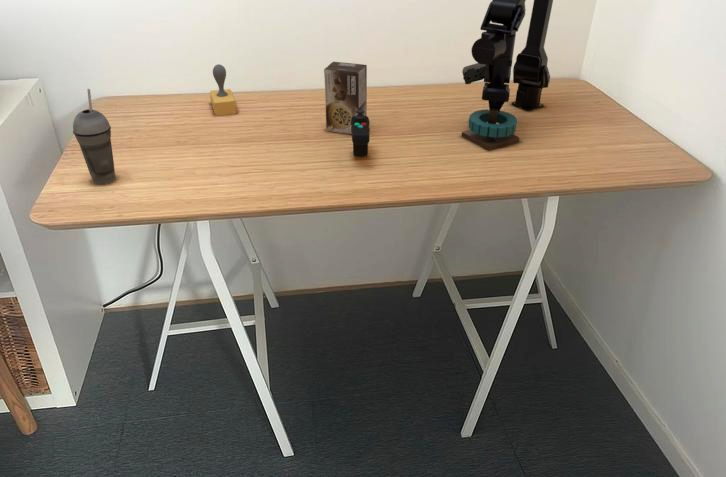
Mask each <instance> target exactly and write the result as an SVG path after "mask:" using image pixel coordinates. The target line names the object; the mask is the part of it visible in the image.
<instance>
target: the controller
mask: <svg viewBox="0 0 726 477" xmlns="http://www.w3.org/2000/svg"><path fill="white" fill-rule="evenodd" d="M356 113H357V115H356V116H353V117H352V118H351V134H350V135H351V142H352V154H353V157H355V158H366V157H367V156H368V153H369V143H370V142H371V141H370V134H371V133H370V132H371V131H370V118H369V117H368V116H364V115H363V113H365V111H364V110H363V109H358V110H356Z"/></svg>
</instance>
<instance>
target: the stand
mask: <svg viewBox="0 0 726 477" xmlns="http://www.w3.org/2000/svg"><path fill="white" fill-rule="evenodd" d="M488 110H489V109H488ZM497 113H498V109H497V108H490V110H489V118H488V122H487V123H490V124H497V123H496V121H497ZM460 136H461V137H462V138H464V139H465V140H467V141H470V142H471V143H473V144H475V145H477V146H479V147H481V148H482V149H485V150H487V151H492V150H495V149H499V148H503V147H506V146H509V145H512V144H515V143H519V142H520V139H521V137H520V136H518V135H516V134H514V133H513V134H512V135H509V136H505V137H488V136H487V137H486V136H482V135H480V134H476V133H474V132H473V131H471V130H470V129H467V130H464V131H463V130H462V131H461V135H460Z"/></svg>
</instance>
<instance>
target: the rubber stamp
mask: <svg viewBox="0 0 726 477" xmlns="http://www.w3.org/2000/svg"><path fill="white" fill-rule="evenodd" d="M212 76H213V78H214V80H215V82H216V85H217V86H218V89H213V90H212V89H211V90H210V91H209V97H210V103H211V106H212V109H213V112H214V115H215V116H227V115H228V116H229V115H236V114H237V113H238V109H237V100H236V98H235V95H234V93H233V91H232V90H231V88H225V87H224V86H225V81H226V78H227V70H226V67H225V66H224V65H222V64H220V63H219V64H216V65H214V66H213V68H212Z"/></svg>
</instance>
